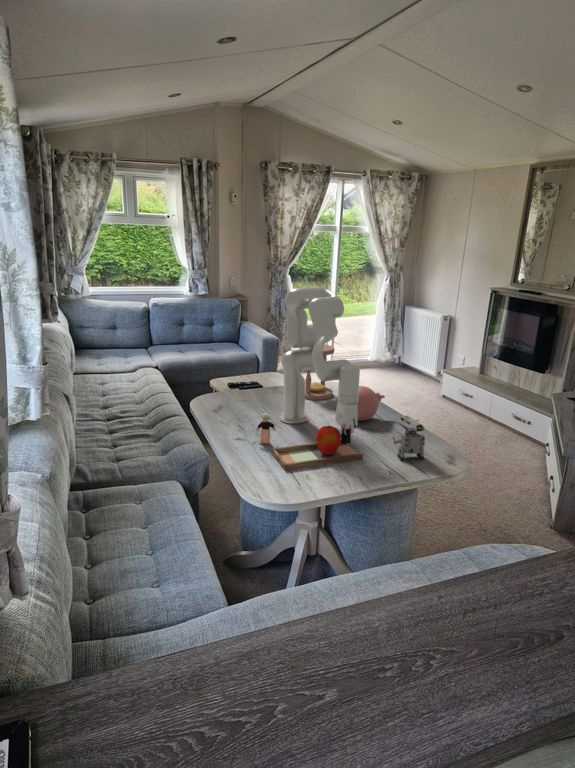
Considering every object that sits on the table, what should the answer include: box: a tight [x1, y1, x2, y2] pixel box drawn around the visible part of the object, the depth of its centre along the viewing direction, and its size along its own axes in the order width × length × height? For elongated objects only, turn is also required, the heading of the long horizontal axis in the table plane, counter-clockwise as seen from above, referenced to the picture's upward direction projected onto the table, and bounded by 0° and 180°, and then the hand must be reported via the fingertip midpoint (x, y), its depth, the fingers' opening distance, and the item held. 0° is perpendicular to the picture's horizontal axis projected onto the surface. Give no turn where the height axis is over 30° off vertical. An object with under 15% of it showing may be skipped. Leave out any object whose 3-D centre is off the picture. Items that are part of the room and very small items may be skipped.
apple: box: [315, 425, 341, 456], centre depth 200 cm, size 9×9×12 cm
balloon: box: [357, 385, 386, 421], centre depth 238 cm, size 15×20×15 cm
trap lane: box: [271, 441, 364, 472], centre depth 200 cm, size 15×31×2 cm, turn 110°
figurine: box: [392, 415, 426, 461], centre depth 200 cm, size 9×12×15 cm
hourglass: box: [298, 343, 335, 401], centre depth 269 cm, size 18×18×25 cm
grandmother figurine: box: [255, 412, 276, 445], centre depth 210 cm, size 8×4×13 cm, turn 105°
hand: (345, 442), depth 203 cm, fingers closed
